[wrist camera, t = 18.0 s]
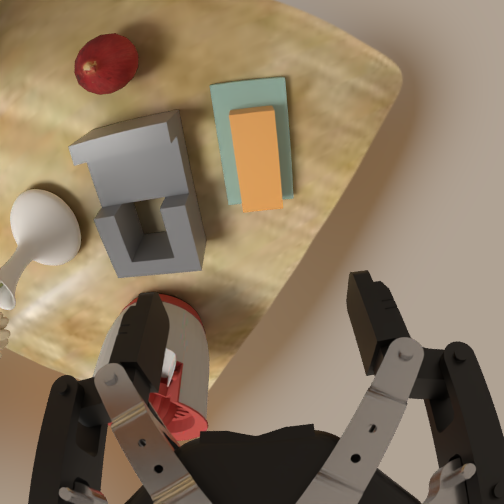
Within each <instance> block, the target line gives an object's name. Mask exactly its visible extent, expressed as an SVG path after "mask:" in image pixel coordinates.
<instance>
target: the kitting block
mask: <svg viewBox="0 0 504 504" xmlns="http://www.w3.org/2000/svg"><path fill="white" fill-rule="evenodd" d="M69 150H70V154H71V157H72V160H73V163H74V166H75V165H78V164H82V163H86V162H87V164H88V168H89V171H90V174H91V177H92V180H93V183H94V186H95V189H96V192H97V195H98V198H99V200H100V203H101V206H102V208H101V210H100V211H99V212H98V214H97V215H96V217H95V218H94V222H95V224H96V227H97V230H98V232H99V234H100V237H101V239H102V242H103V244H104V246H105V249H106V251H107V254H108V256H109V258H110V260H111V263H112V265H113V267H114V269H115V272H116V274H117V276H118V278H124V277H135V276H147V275H158V274H169V273H180V272H191V271H202V265H203V259H204V253H205V247H206V237H205V233H204V228H203V224H202V219H201V215H200V210H199V206H198V201H197V197H196V192H195V187H194V183H193V178H192V173H191V168H190V164H189V159H188V154H187V149H186V144H185V139H184V134H183V128H182V123H181V118H180V113H179V110H173V111H168V112H163V113H158V114H154V115H149V116H145V117H140V118H136V119H132V120H128V121H124V122H120V123H116V124H112V125H108V126H104V127H101V128H97V129H94V130H91V131H90V132H88V133H87V134H85V135H84V136H83V137H81V138H80V139H78V140H77V141H76V142H74V143H73V144H71V145H70V146H69ZM161 197H165V199H164V201H163V203H162V205H161V208H160V211H161V214H162V218H163V221H164V225H165V228H166V232H158V233H150V234H144V233H143V230H142V227H141V224H140V221H139V218H138V215H137V212H136V209H135V205H134V202H136V201H142V200H149V199H155V198H161Z"/></svg>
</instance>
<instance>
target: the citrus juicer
mask: <svg viewBox="0 0 504 504" xmlns="http://www.w3.org/2000/svg"><path fill="white" fill-rule="evenodd" d="M159 296H160V298H161V300H162V303H163V305H164V307H165V310H166V312H167V314H168V317H169V322H170V329H169V335H168V340H167V346H166V351H165V357H164V363H163V368H162V374H161V380H160V387H159V393H150V394H149V401H150V403H151V404H152V406H153V408H154V409H155V411H156V412H157V414H158V415H159V417H160V418H161V420H162V421H163V423H164V424H165V426H166V427H167V429H168V430H169V432H170V433H171V434H172V436H173V437H174V438H175V439H176V441H181V440H189V439H192V438H196V437H199V436H200V431H206V430H207V428H208V422H207V420H206V414H207V397H208V382H209V351H208V343H207V339H206V336H205V330H204V327H203V324H202V322H201V319H200V317H199V315H198V314H197V312H196V311H195V310H194V309H193V308H192V307H191V306H190V305H188V304H187V303H186V302H184V301H182V300H180V299H178V298H175V297H172V296H169V295H164V294H159ZM137 299H138V298H135V299H134V300H133V301H132V302H131V303H129V304H128V305H127V306H126V307H125V308H124V309H123V310H122V312H121V313H120V315H119V316H118V317H117V319H116V320H115V322H114V323H113V325H112V327H111V328H110V330H109V331H108V333H107V336H106V338H105V340H104V343H103V345H102V348H101V351H100V355H99V358H98V361H97V364H96V367H95V370H94V374H93V377H95V375H96V373H97V372H98V370H99V369H100V368H101V367H103V366H104V365H106V364H108V363H109V360H110V356H111V353H112V350H113V346H114V343H115V340H116V336H117V335H118V330H119V327H120V324H121V321H122V318H123V315H124V313H125V312H126V311H127V310H128V308H129V307H130V306H136V302H137ZM111 424H112V422H111V423H108V425H110V426H111Z"/></svg>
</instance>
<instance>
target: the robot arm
mask: <svg viewBox="0 0 504 504" xmlns="http://www.w3.org/2000/svg"><path fill="white" fill-rule="evenodd" d="M346 302H347V311H348V314H349V317H350V321H351V324H352V327H353V331H354V334H355V337H356V341H357V344H358V348H359V351H360V355H361V358H362V362H363V365H364V369H365V373H366V375H367V376H368V375H375V378H374V380H373V382H372V384H371V386H370V388H368V390H367V392H366V394H365V396H364V397H363V399H362V401H361V403H360V405H359V407H358V409H357V410H356V412H355V414H354V416H353V418H352V419H351V421H350V423H349V425H348V426H347V428H346V430H345V432H344V433H343V435H342V437H341V438H339V437H338V436H336V435H333V434H330V433H328V432H324V431H319V430H314V424H308V425H299V426H290V427H284V428H281V429H278V430H275V431H272V432H269V433H266V434H262V435H259V436H252V435H246V434H240V433H235V432H230V431H200V438H198V439H194V440H192V441H189V442H187V443H185V444H184V445H182V446H180V444H179V443H178V442H177V441H176V439H175V438H174V437H173V436H172V434H171V433H170V432H169V430H168V429H167V427H166V426H165V424H164V423H163V421H162V420H161V418H160V417H159V415H158V414H157V412H156V411H155V409H154V408H153V406H152V404H151V403H150V401H149V394H150V393H159V387H160V380H161V374H162V368H163V363H164V357H165V351H166V346H167V340H168V335H169V329H170V322H169V317H168V314H167V312H166V310H165V307H164V305H163V303H162V300H161V298H160V296H159V294H158V293H157V292H150V293H140V294H139V296H138V299H137V302H136V306H130V307H129V308H128V310H127V311H126V312H125V313H124V315H123V318H122V321H121V324H120V327H119V330H118V335H117V336H116V340H115V343H114V346H113V350H112V353H111V356H110V360H109V363H108V364H106V365H104V366H103V367H101V368H100V369H99V370H98V372H97V373H96V375H95V377H92V378H89V379H85V380H81V381H77V380H76V379H75V378H74V377H73V376H70V375H64V376H61V377H59V378H58V379H57V380H56V381H55V382H54V384H53V385H52V388H51V391H50V395H49V398H48V402H47V406H46V410H45V414H44V418H43V422H42V426H41V431H40V436H39V441H38V445H37V450H36V456H35V461H34V467H33V472H32V479H31V486H30V494H29V503H28V504H108V502H107V499H106V497H105V496H104V495H103V494H102V493H101V492H100V490H101V489H100V488H101V477H102V468H103V458H104V449H105V442H106V434H107V427H108V423H111V422H112V424H111V428H112V431H113V433H114V435H115V437H116V438H117V440H118V442H119V444H120V446H121V448H122V449H123V451H124V453H125V455H126V457H127V458H128V460H129V462H130V464H131V466H132V467H133V469H134V471H135V472H136V474H137V476H138V477H139V479H140V481H141V482H142V484H143V485H142V486H141V488H139V490H138V491H137V492H136V493H135V494H134V495H133V496H132V497H131V498H130V499H129V500H128V501H127V502H126V503H125V504H421V502H420V501H419V500H418V499H416V498H415V497H414V496H413V495H411V494H410V493H409V492H407V491H406V490H405V489H403V488H402V487H401V486H400V485H398V484H397V483H396V482H394V481H393V480H392V479H391V478H389V477H388V476H387V475H386V474H384V473H383V472H382V471H380V470H379V469H378V468H377V467H378V465H379V464H380V462H381V460H382V458H383V456H384V454H385V452H386V450H387V448H388V446H389V444H390V442H391V440H392V438H393V436H394V434H395V431H396V429H397V427H398V425H399V423H400V420H401V418H402V416H403V414H404V411H405V409H406V406H407V400H408V398H414V399H424V403H425V406H426V410H427V414H428V418H429V423H430V427H431V431H432V436H433V440H434V445H435V449H436V454H437V459H438V464H439V469H438V470H437V471H436V472H435V473H434V474H433V476H432V477H431V479H430V482H429V493H428V496H427V498H426V500H425V501H424V503H422V504H504V436H503V433H502V429H501V426H500V423H499V420H498V416H497V413H496V410H495V407H494V404H493V401H492V398H491V395H490V392H489V390H488V387H487V384H486V381H485V379H484V376H483V374H482V371H481V369H480V366H479V363H478V361H477V358H476V356H475V354H474V351H473V350H472V348H471V347H470V346H468V345H467V344H465V343H463V342H452V343H450V344H449V345H447V347H446V348H445V350H440V349H428V348H424V347H422V346H421V345H420V344H419V343H418V342H417V341H416V340H414V339H412V338H411V337H410V335H409V333H408V330H407V328H406V326H405V323H404V321H403V319H402V316H401V314H400V312H399V309H398V308H397V305H396V303H395V301H394V299H393V296H392V294H391V292H390V290H389V288H387V286H385V285H384V284H383V283H382V282H381V281H378V282H373V280H372V278H371V276H370V273H369V272H368V270H365V271H358V272H350V274H349V281H348V290H347V299H346Z"/></svg>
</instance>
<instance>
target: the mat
mask: <svg viewBox="0 0 504 504" xmlns="http://www.w3.org/2000/svg"><path fill="white" fill-rule="evenodd" d="M210 91H211V98H212V104H213V111H214V117H215V124H216V130H217V136H218V143H219V149H220V155H221V161H222V167H223V173H224V180H225V186H226V192H227V198H228V204H229V205H234V204H242V200H241V194H240V187H239V180H238V174H237V167H236V160H235V154H234V147H233V140H232V134H231V127H230V120H229V112H230V110H235V109H243V108H251V107H261V106H271V105H272V106H273V108H274V111H275V121H276V131H277V142H278V153H279V164H280V176H281V188H282V199H292V198H293V179H292V163H291V147H290V133H289V120H288V107H287V95H286V84H285V77H272V78H260V79H250V80H241V81H233V82H225V83H218V84H211V85H210Z"/></svg>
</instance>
